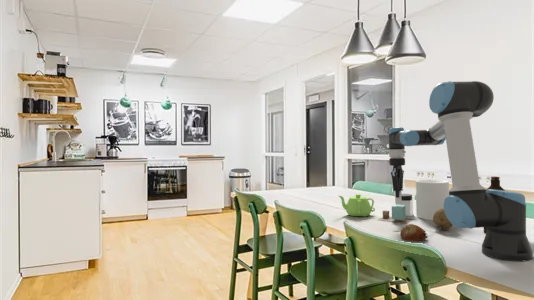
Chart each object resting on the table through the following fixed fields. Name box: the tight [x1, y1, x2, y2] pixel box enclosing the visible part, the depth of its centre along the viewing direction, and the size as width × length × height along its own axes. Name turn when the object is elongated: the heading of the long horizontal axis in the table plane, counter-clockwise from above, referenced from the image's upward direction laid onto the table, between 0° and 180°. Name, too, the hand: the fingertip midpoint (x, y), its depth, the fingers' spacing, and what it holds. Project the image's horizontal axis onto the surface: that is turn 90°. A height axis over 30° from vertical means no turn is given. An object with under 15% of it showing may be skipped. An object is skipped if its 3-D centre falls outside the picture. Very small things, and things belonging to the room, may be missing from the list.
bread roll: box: [399, 223, 428, 243], centre depth 148 cm, size 10×10×8 cm
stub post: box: [382, 209, 390, 218], centre depth 186 cm, size 3×3×4 cm
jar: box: [395, 193, 414, 217], centre depth 191 cm, size 9×8×12 cm
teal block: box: [391, 204, 407, 220], centre depth 177 cm, size 5×5×7 cm
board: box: [377, 216, 414, 225], centre depth 180 cm, size 12×15×1 cm
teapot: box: [338, 193, 376, 217], centre depth 194 cm, size 16×14×13 cm
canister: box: [415, 179, 450, 221], centre depth 184 cm, size 16×16×20 cm
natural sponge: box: [432, 209, 454, 231], centre depth 160 cm, size 9×9×10 cm
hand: (398, 203), depth 177 cm, fingers closed
